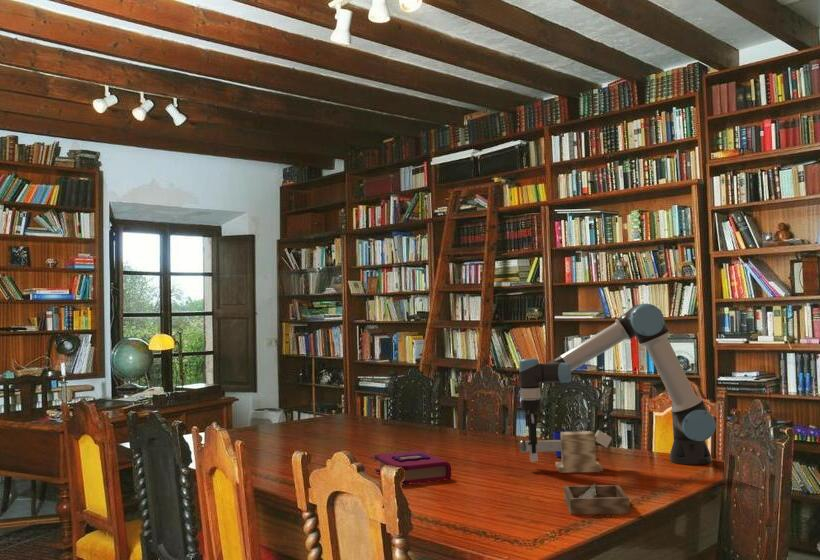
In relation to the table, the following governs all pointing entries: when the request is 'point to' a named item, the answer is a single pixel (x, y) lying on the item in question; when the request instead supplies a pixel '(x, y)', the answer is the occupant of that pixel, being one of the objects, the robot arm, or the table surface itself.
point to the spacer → (602, 438)
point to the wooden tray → (597, 500)
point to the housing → (578, 453)
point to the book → (417, 466)
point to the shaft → (542, 445)
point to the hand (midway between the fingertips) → (533, 460)
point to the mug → (557, 437)
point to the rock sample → (590, 493)
